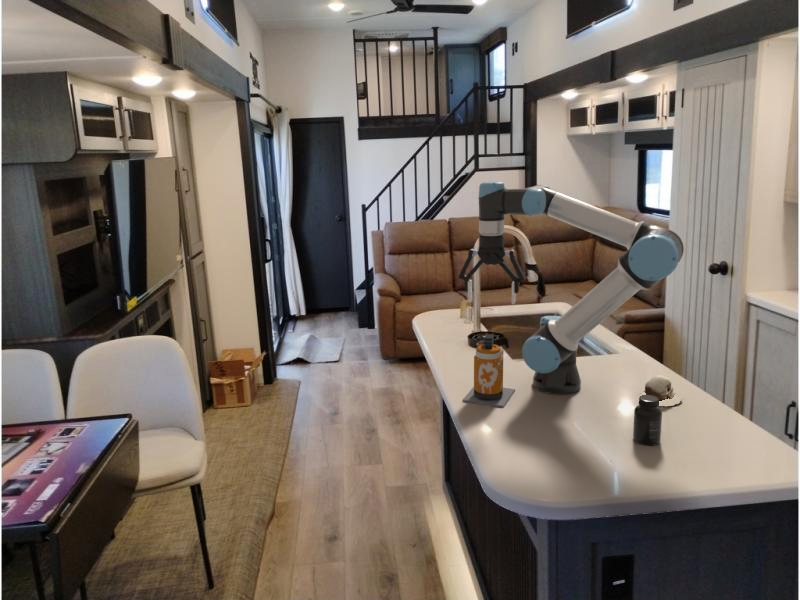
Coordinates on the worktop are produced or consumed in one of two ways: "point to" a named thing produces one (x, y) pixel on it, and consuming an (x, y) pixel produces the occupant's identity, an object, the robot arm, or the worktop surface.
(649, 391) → the skull
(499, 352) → the canister
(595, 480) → the worktop surface
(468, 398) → the mat
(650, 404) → the supplement bottle
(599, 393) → the worktop surface
